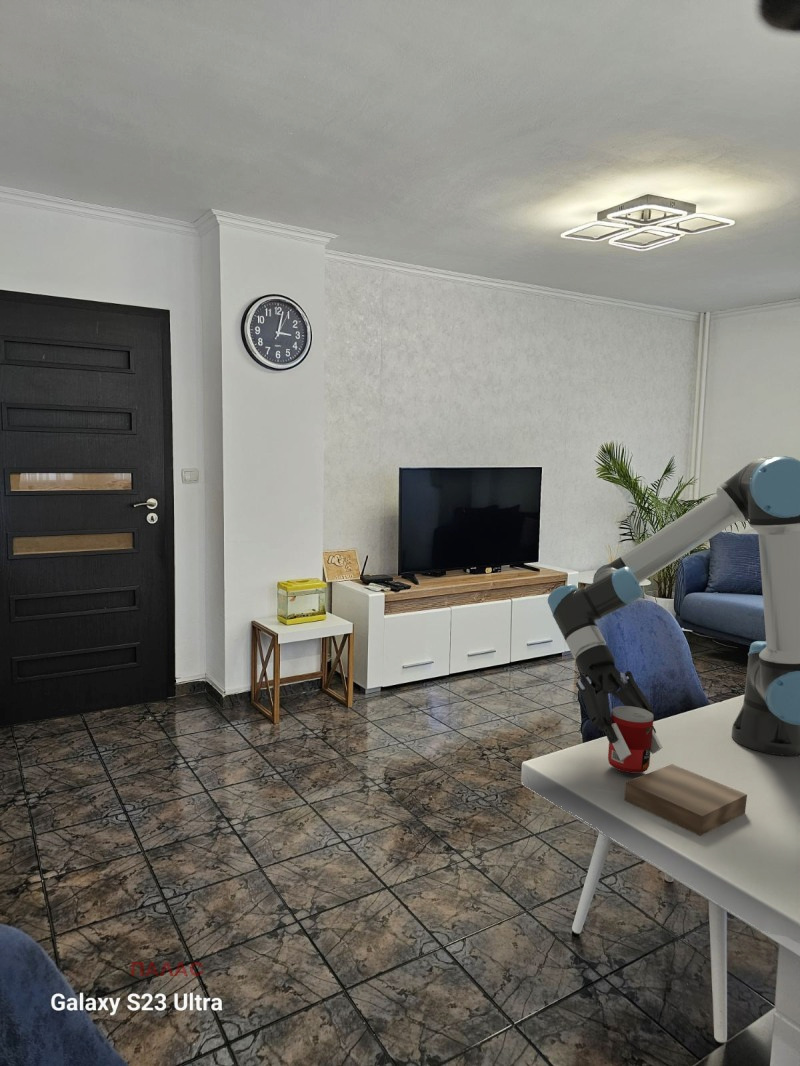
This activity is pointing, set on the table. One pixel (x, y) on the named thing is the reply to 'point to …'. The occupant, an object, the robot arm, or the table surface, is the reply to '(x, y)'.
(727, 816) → the walnut stand
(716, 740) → the table surface
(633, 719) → the canned food
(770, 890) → the table surface
